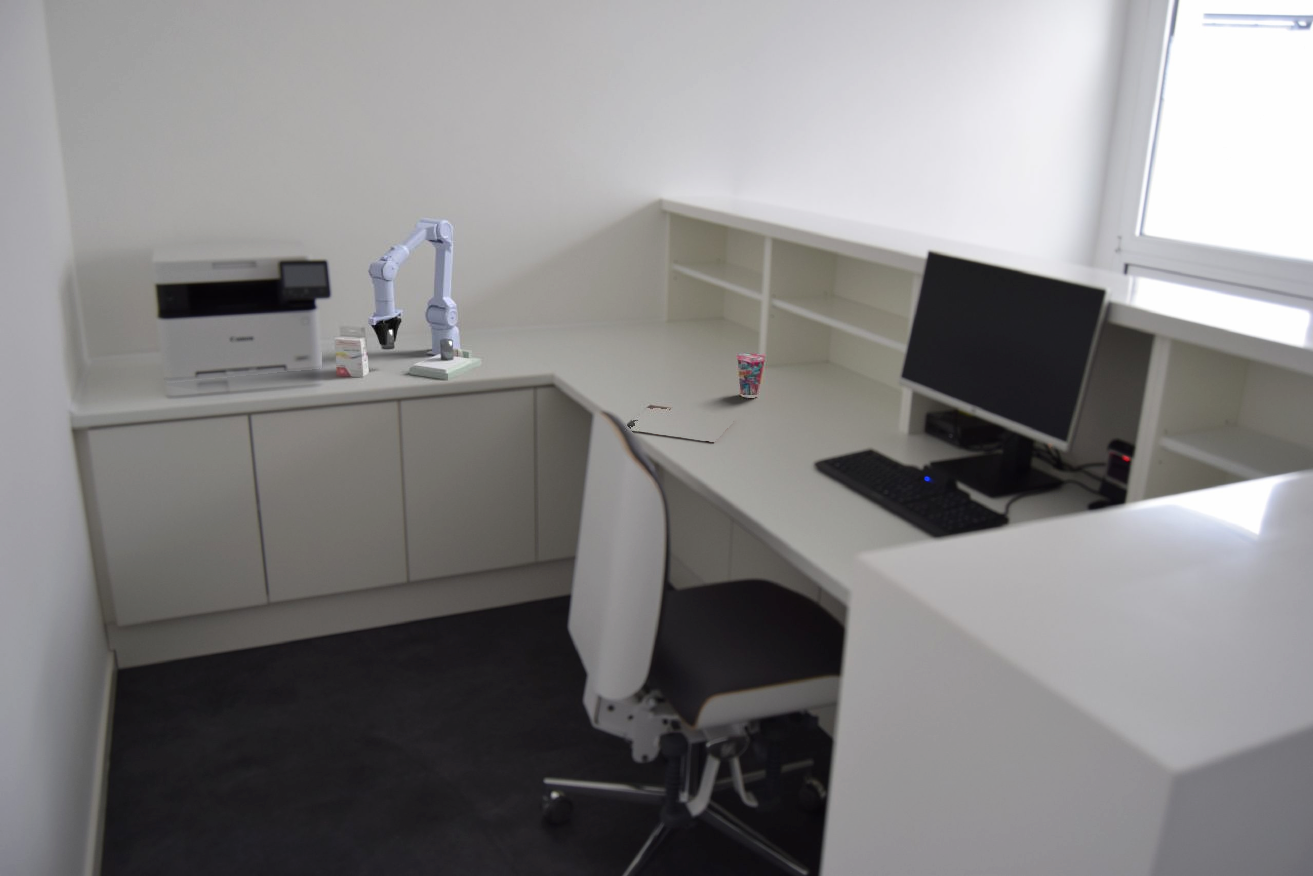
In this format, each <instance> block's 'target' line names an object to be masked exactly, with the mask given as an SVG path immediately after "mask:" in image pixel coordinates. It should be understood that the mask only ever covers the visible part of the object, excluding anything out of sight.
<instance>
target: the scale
mask: <svg viewBox="0 0 1313 876" xmlns="http://www.w3.org/2000/svg"><path fill="white" fill-rule="evenodd" d="M453 354H454V359H453V360H450V361H443V360H441V355H440V354H438V355H434V356H431V357H429V358H426V359H424V360H421V361H419V362H416V363H414V364H412V366H410V367H409V368H408V369H409V370H408V371H409V375H412V376H420V377H425V378H432V379H440V380H446V381H449V380H451V379H453V377H454V378H456V377H457V376H460V375H463V374H464V373H467V372H469V371H471V370H473V369H476V368H478V367H480V366H482V358H477V357H473V350H470V349H463V348H460V349H457V348H453Z"/></svg>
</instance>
